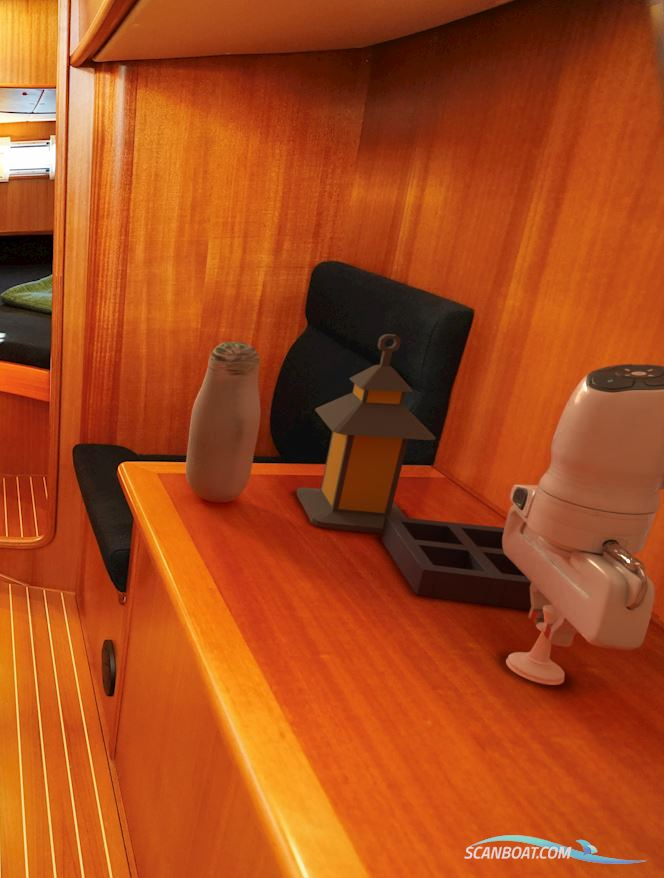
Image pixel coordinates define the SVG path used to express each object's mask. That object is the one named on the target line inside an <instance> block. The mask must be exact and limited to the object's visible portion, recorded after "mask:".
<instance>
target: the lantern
mask: <svg viewBox="0 0 664 878" xmlns="http://www.w3.org/2000/svg"><path fill="white" fill-rule="evenodd" d="M390 339H392V340H393V344H392V345H390V346H386V344H385V343H386V341H387V340H390ZM401 342H402V339H401V337H399V336H398V335H396V334H393V333H385V334H383V335H381V336H380V337H379V338H378V342H377V347H378V350H380V351H382V352H381V355H380V356H381V357H380V362H379V364H374V365H372V366H370V367H368V368H367V369H365V370H363V371H361V372H359V373H357V374H355V375H353V376H351V377H349V379H348V380H350V381H351V382H352V383H353V388H352V392H350V393H348V394H345V395H343V396H341V397H339V398H336V399H334V400H332V401H330V402H327V403H325V404H323V405H321V406H318V407H316V408H315V409H314V410H315V412H316V413H317V414H318V416H319V417H320V418H321V419H322V421H323V422H324V424H325V425H326V426H327V427H328V428H329V429H330V431H331V432H332V433H331V436H330V442H329V447H328V451H327V455H326V461H325V467H324V471H323V476H322V481H321V484H320V485H321V486H320V487H319V488H317V487H307V486H301V487H298V488H297V489H296V496H297V498H298V500H299V502H300V504H301V507H302V508H303V510H304V511H305V513H306V515H307V517H308V519H309V521H310V523H311V524H312V525H313V526H316V527H318V528H322V529H329V530H339V531H340V530H341V531H350V532H351V531H352V532H360V533H361V532H362V533H370V534H379V535H381V533H382V528H383V524H384V520H385V516H394V517H404V518H407V517H406V515H405V514H404V513H403V512H402V510H401V509H400V508H399V506H398V505H397V504H396V503H395V501H394V500H395V497H396V492H397V488H398V484H399V480H400V476H401V471H402V467H403V464H404V460H405V455H406V452H407V447H408V443H409V440H421V441H435V440H436V436H434V434H433V433H432V432H431V431H429V429H428V428H427V427H426V426H425V425H424V424H423V423H422V422H421V421H420V420H419V419H418V418H417V417H416V416H415V415H414V414H413V413H412V412H411V411H410V410H409V409H408V408H407V407H406V406H405V404H404V402H405V397H406V393H412V392H414V391H413V389H412V388H411V387H410V385H409V384H408V383H407V382H406V381H405V380H404V379H403V378H402V376H400V374H399V373H398V372H397V371H396V370H395V368H393V367H392V366H391V365H390V363H391V360H392V356H393V352H396V351H397V352H398V350H399V349H400V347H401Z"/></svg>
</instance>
